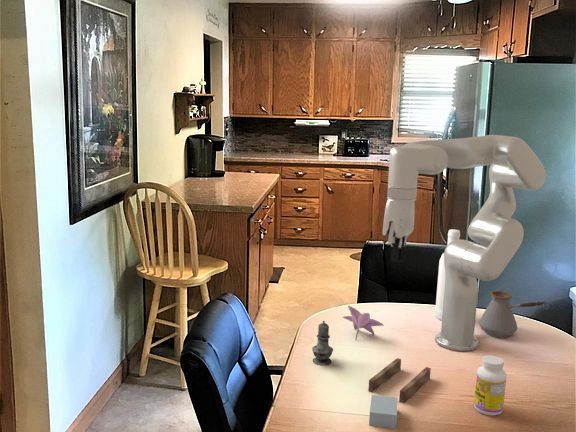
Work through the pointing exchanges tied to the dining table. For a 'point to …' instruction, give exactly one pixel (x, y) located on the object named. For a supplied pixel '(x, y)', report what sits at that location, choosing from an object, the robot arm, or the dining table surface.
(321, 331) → the salt shaker
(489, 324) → the coffee pot
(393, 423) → the slate block
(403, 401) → the walnut chute
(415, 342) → the dining table surface
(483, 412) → the supplement bottle
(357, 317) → the lily
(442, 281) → the bottle
